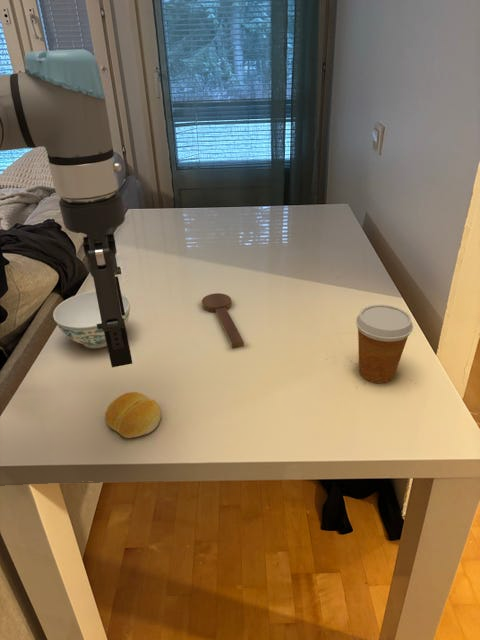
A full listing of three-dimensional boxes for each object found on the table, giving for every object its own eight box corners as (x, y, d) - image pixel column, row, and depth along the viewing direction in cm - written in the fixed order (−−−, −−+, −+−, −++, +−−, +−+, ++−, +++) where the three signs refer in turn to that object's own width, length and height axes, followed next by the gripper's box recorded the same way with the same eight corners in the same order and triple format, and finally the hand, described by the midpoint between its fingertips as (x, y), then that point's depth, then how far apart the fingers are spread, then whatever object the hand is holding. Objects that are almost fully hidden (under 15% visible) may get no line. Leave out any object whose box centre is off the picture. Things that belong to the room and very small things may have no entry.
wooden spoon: (221, 350, 93) (221, 344, 92) (199, 301, 111) (199, 295, 110) (254, 344, 95) (253, 338, 94) (227, 296, 113) (226, 291, 112)
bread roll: (134, 447, 72) (130, 428, 69) (99, 422, 76) (94, 404, 74) (173, 417, 77) (170, 399, 75) (137, 396, 82) (134, 378, 80)
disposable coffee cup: (349, 385, 83) (355, 328, 77) (351, 355, 91) (357, 301, 84) (405, 392, 81) (416, 334, 74) (402, 360, 89) (412, 305, 82)
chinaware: (83, 318, 106) (76, 288, 102) (145, 324, 103) (141, 293, 99) (47, 356, 93) (37, 323, 89) (117, 364, 90) (110, 330, 86)
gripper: (128, 222, 48) (155, 383, 59) (115, 168, 68) (136, 295, 79) (51, 231, 46) (94, 396, 57) (61, 173, 67) (91, 302, 78)
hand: (119, 338), depth 68 cm, fingers open, 13 cm apart
